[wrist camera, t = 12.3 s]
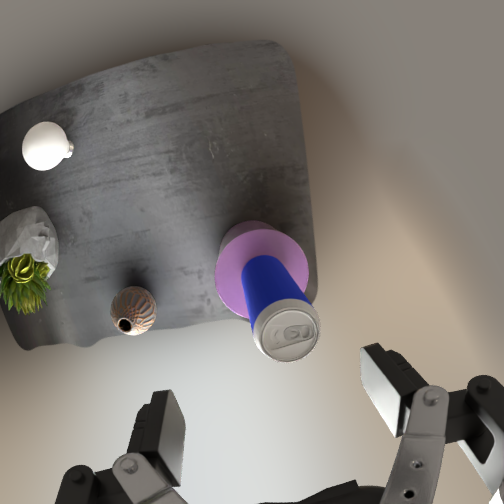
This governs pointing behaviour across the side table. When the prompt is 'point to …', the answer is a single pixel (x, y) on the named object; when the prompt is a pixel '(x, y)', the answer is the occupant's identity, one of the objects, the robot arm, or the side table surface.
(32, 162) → the light bulb
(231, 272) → the jar
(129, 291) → the vase
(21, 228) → the potted plant
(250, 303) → the beverage can
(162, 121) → the side table surface
